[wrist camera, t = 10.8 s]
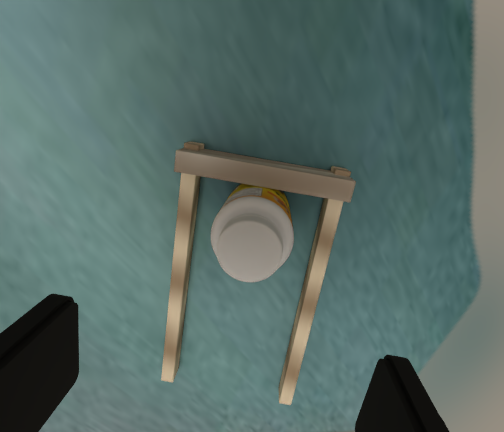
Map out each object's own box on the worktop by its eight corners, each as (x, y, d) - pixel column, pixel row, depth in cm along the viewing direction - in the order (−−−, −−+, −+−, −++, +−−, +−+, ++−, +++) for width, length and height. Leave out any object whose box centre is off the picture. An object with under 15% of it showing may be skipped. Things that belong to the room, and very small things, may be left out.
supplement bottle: (293, 232, 29) (302, 289, 19) (234, 240, 29) (213, 300, 19) (284, 172, 27) (288, 200, 17) (221, 182, 28) (192, 215, 18)
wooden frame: (190, 141, 27) (176, 144, 23) (345, 168, 27) (357, 176, 23) (167, 365, 34) (153, 396, 30) (289, 389, 34) (291, 423, 30)
